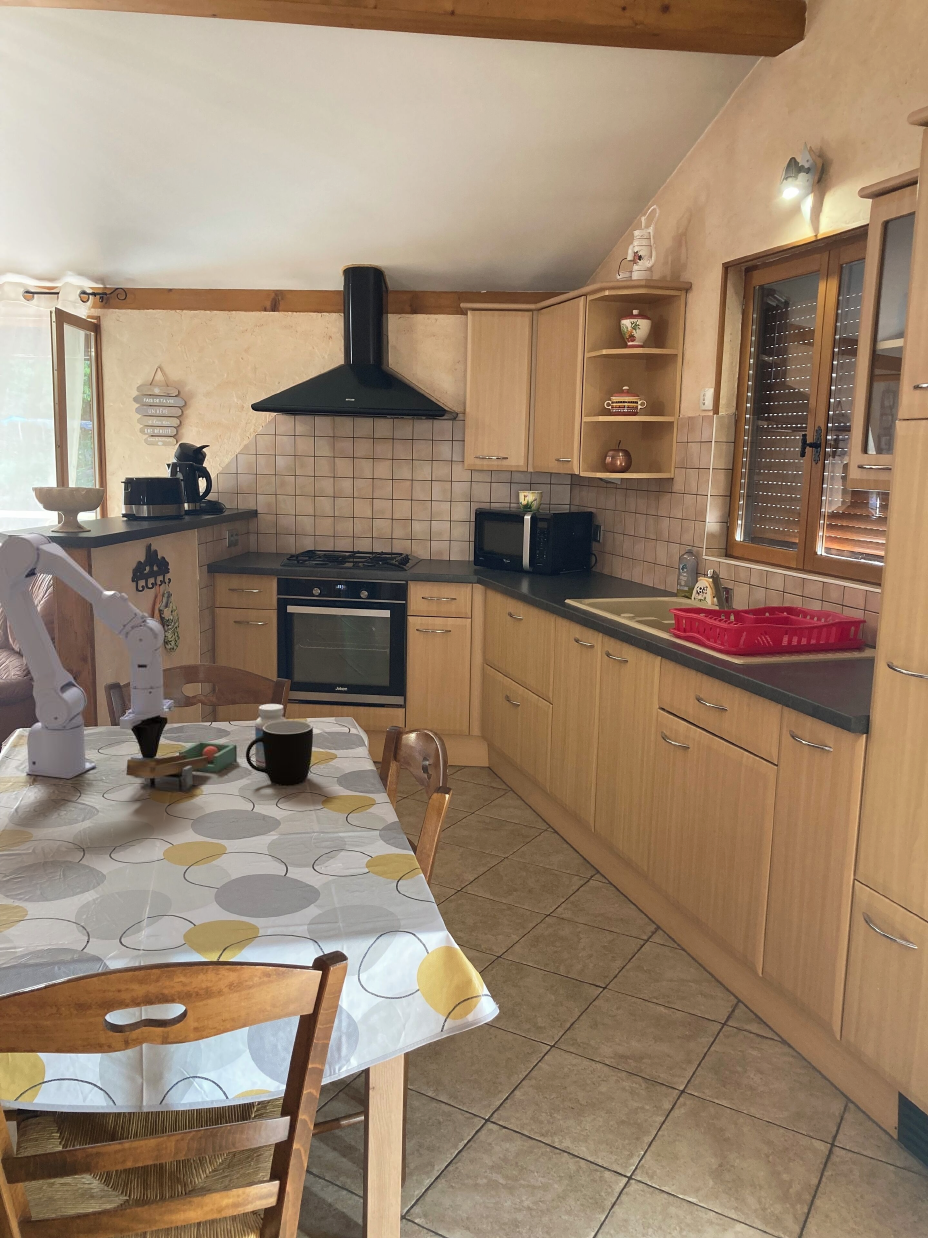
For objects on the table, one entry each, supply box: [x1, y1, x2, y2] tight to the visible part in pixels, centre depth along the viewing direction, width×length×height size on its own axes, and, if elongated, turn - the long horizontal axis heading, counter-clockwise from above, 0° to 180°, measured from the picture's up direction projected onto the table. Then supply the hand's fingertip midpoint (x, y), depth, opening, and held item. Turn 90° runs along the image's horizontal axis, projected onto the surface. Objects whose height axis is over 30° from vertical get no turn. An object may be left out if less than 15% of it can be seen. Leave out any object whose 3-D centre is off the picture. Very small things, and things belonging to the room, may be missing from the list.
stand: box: [140, 766, 199, 794], centre depth 167 cm, size 9×4×4 cm, turn 75°
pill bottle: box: [254, 703, 287, 768], centre depth 181 cm, size 6×6×11 cm
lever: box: [126, 754, 208, 778], centre depth 167 cm, size 14×18×3 cm
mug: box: [245, 719, 314, 787], centre depth 171 cm, size 12×9×10 cm
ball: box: [203, 746, 219, 762], centre depth 180 cm, size 3×3×3 cm
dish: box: [178, 740, 238, 773], centre depth 180 cm, size 8×7×3 cm
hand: (149, 757), depth 175 cm, fingers closed
